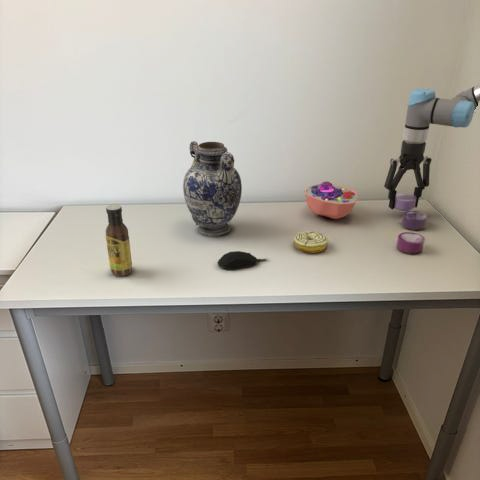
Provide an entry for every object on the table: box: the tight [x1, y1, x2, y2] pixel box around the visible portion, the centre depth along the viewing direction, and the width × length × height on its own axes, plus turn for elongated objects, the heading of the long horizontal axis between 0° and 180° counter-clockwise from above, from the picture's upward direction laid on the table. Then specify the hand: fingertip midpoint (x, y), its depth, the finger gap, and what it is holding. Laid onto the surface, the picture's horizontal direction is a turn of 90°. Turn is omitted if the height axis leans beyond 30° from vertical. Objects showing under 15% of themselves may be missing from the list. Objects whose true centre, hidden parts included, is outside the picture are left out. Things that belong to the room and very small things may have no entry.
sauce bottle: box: [105, 203, 133, 277], centre depth 142 cm, size 6×6×20 cm
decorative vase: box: [182, 140, 243, 237], centre depth 164 cm, size 21×19×28 cm
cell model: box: [304, 180, 358, 220], centre depth 179 cm, size 17×20×11 cm
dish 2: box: [395, 231, 426, 255], centre depth 159 cm, size 8×8×4 cm
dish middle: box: [400, 210, 429, 231], centre depth 173 cm, size 8×8×4 cm
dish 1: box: [394, 192, 417, 212], centre depth 179 cm, size 8×8×4 cm
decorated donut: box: [293, 231, 329, 254], centre depth 160 cm, size 10×11×4 cm
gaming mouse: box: [217, 250, 267, 270], centre depth 151 cm, size 6×15×4 cm, turn 107°
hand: (402, 207), depth 180 cm, fingers closed on dish 1, 8 cm apart
